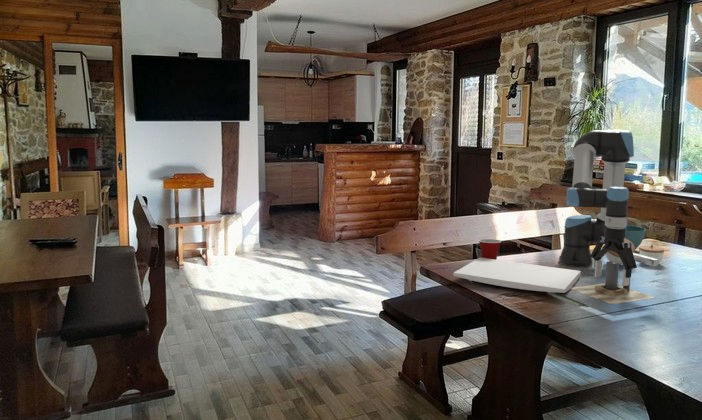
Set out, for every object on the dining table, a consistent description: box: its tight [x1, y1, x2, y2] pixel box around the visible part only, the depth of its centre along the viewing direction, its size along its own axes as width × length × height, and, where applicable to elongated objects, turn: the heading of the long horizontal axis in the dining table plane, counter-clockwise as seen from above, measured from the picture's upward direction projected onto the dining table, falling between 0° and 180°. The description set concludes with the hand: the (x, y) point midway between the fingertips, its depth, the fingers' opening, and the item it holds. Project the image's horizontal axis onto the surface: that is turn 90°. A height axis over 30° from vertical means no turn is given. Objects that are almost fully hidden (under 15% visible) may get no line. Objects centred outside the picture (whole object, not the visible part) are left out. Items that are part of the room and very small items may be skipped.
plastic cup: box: [478, 238, 502, 260], centre depth 267 cm, size 11×11×12 cm
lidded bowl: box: [604, 238, 636, 266], centre depth 266 cm, size 13×13×11 cm
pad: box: [551, 292, 587, 307], centre depth 214 cm, size 14×9×1 cm, turn 22°
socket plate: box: [569, 266, 656, 305], centre depth 217 cm, size 22×22×14 cm
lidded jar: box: [638, 244, 665, 264], centre depth 268 cm, size 11×11×9 cm
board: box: [452, 257, 582, 296], centre depth 238 cm, size 45×32×5 cm
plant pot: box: [625, 224, 647, 250], centre depth 296 cm, size 18×18×12 cm
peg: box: [604, 260, 620, 290], centre depth 217 cm, size 4×4×12 cm
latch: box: [633, 251, 659, 267], centre depth 214 cm, size 4×14×2 cm, turn 20°
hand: (611, 280), depth 217 cm, fingers open, 13 cm apart
